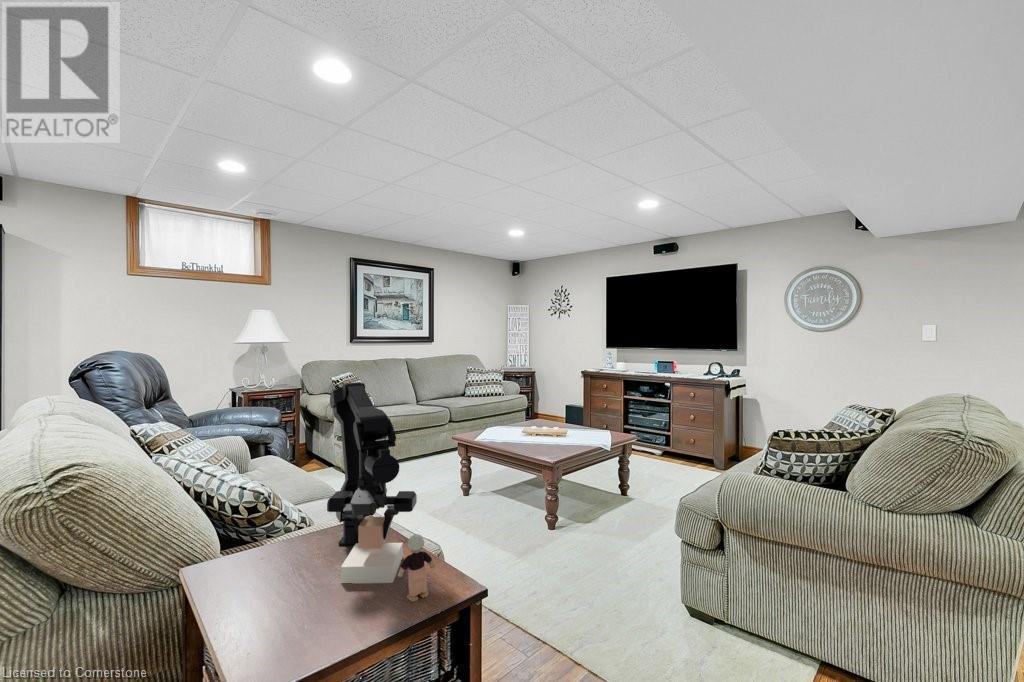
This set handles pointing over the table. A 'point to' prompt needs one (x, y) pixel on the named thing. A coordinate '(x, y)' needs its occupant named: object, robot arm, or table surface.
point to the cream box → (372, 564)
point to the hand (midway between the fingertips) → (373, 538)
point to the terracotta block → (371, 532)
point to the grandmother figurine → (416, 568)
